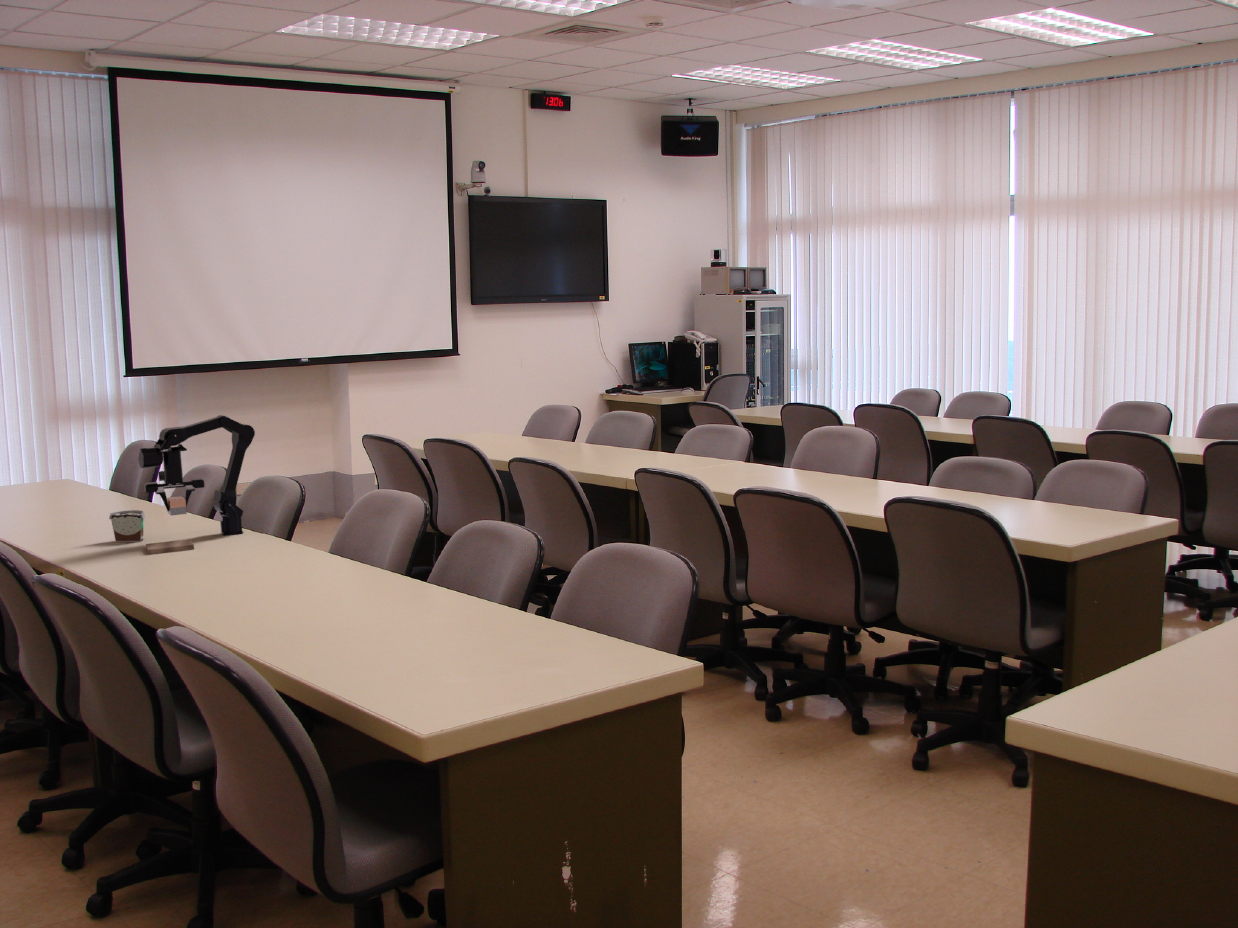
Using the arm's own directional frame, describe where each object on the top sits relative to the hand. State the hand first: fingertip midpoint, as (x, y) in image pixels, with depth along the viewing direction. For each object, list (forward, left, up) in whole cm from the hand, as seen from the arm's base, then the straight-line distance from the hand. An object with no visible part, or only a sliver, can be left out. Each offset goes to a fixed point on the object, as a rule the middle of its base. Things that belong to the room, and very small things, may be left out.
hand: (176, 510), depth 374 cm
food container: (+14, -13, -11) cm, 22 cm away
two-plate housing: (0, 0, -1) cm, 1 cm away
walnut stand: (+4, +11, -11) cm, 16 cm away
